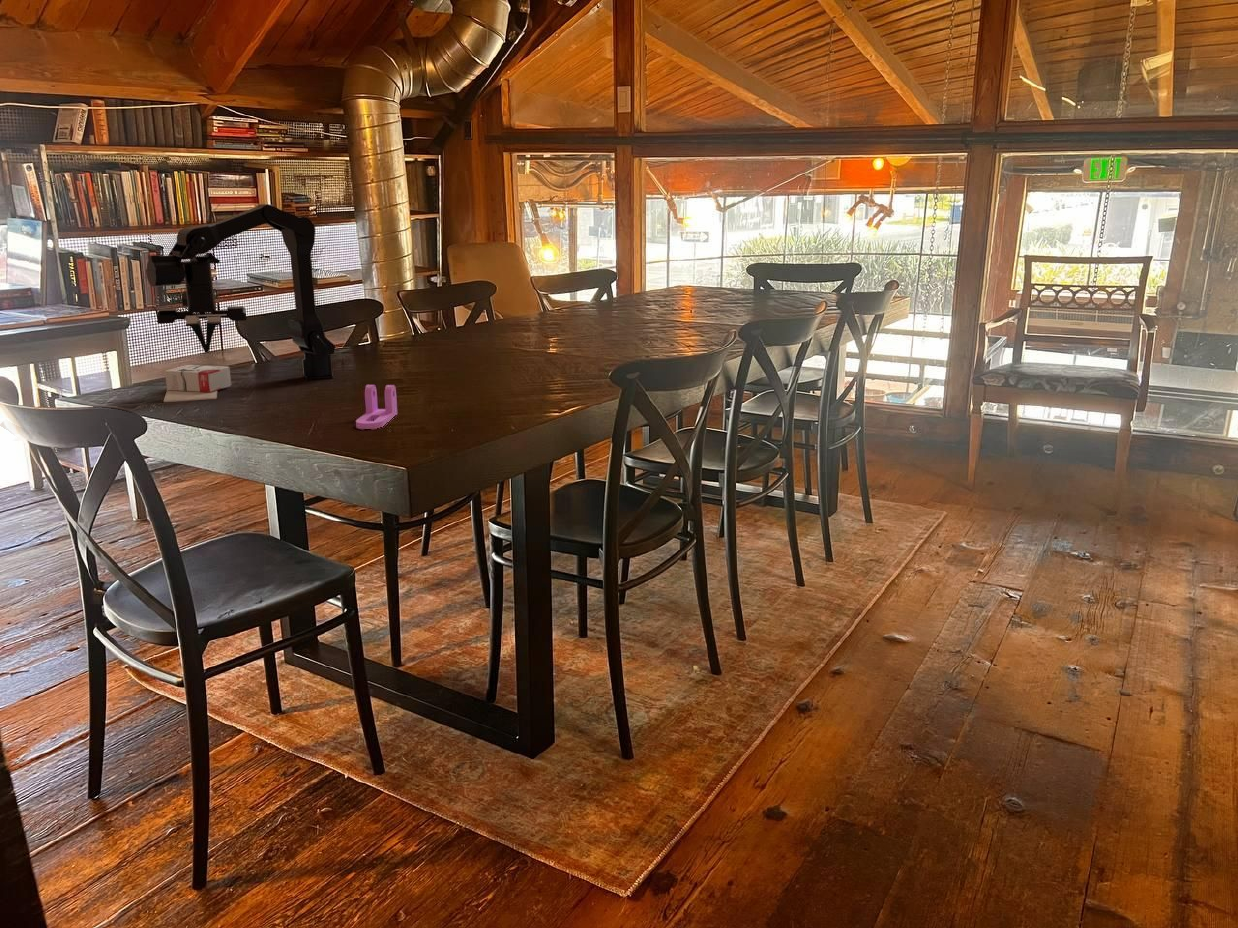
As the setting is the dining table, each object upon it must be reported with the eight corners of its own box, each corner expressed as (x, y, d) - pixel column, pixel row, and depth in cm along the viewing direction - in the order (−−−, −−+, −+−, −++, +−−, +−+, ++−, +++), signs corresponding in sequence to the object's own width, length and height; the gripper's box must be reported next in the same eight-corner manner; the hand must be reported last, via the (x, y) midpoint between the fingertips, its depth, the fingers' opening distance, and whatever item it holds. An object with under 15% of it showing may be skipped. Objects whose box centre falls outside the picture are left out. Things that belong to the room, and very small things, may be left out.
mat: (217, 385, 227) (217, 384, 227) (216, 398, 213) (216, 397, 212) (168, 388, 223) (168, 387, 223) (163, 402, 209) (163, 401, 209)
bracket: (371, 415, 199) (369, 383, 197) (397, 415, 199) (395, 383, 197) (352, 430, 186) (350, 396, 184) (380, 430, 186) (377, 396, 184)
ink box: (208, 372, 216) (163, 370, 218) (210, 393, 217) (165, 390, 219) (230, 366, 224) (186, 364, 226) (232, 385, 225) (188, 383, 227)
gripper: (242, 280, 223) (249, 345, 227) (156, 282, 216) (165, 348, 220) (243, 284, 213) (249, 352, 217) (152, 286, 206) (161, 356, 210)
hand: (206, 352), depth 217 cm, fingers closed
